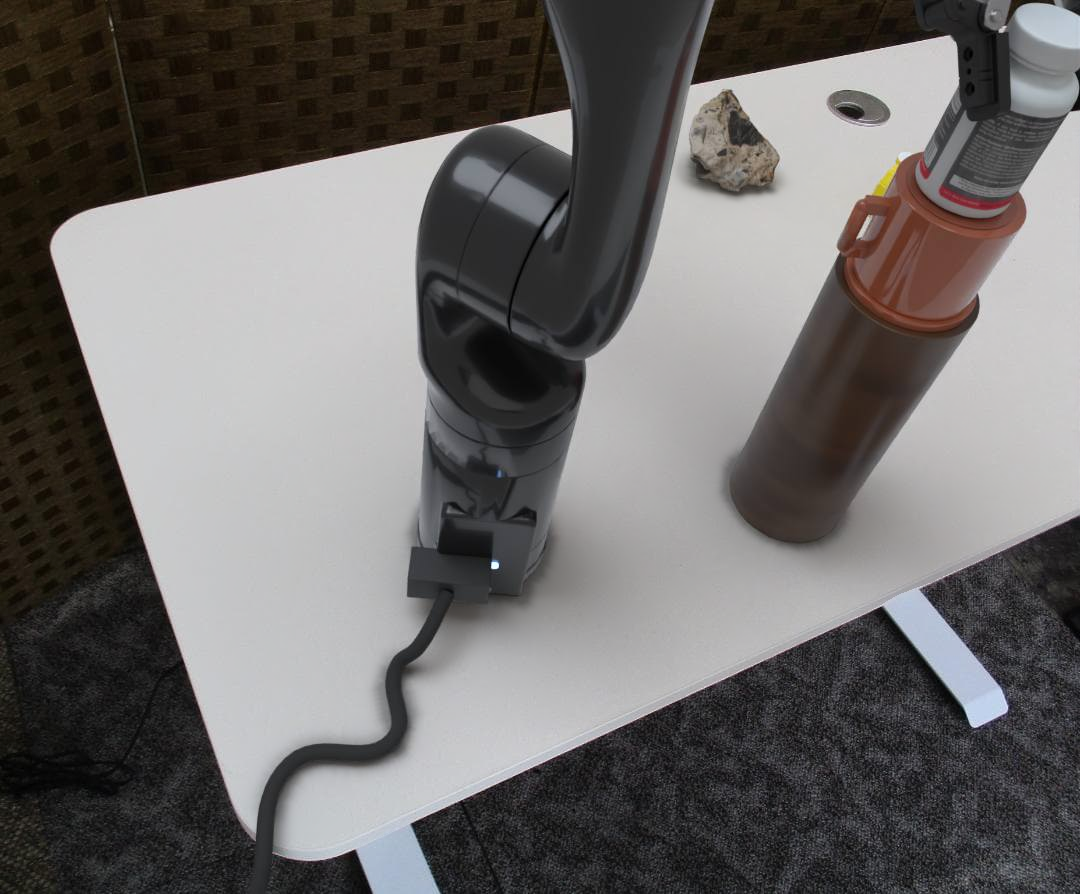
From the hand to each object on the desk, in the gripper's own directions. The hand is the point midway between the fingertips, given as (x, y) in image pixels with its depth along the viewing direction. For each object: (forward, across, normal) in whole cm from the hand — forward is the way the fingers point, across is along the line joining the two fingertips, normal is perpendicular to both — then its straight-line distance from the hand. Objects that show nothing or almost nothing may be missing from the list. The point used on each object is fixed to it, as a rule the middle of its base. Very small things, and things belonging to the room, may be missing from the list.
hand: (1038, 112), depth 49 cm
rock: (-2, +12, +54) cm, 55 cm away
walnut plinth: (+25, 0, +27) cm, 36 cm away
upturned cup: (+8, 0, +11) cm, 13 cm away
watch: (+4, +27, +48) cm, 55 cm away
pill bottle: (+3, 0, +6) cm, 7 cm away
